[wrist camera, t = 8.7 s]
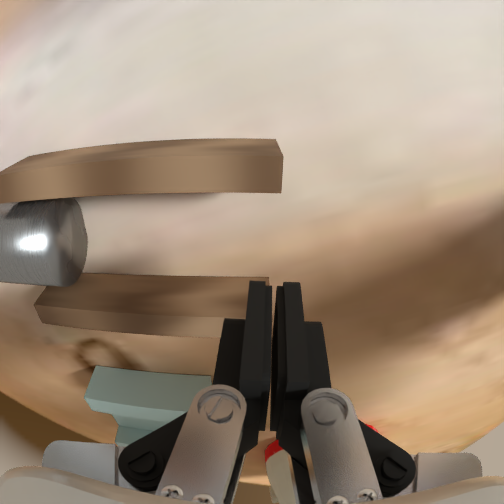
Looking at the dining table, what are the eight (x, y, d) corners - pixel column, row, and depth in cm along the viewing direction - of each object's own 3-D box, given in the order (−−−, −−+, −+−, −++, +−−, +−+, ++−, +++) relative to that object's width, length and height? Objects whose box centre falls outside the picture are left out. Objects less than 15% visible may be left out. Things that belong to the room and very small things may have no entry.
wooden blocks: (275, 139, 15) (283, 156, 12) (267, 297, 19) (270, 338, 16) (29, 156, 14) (-8, 176, 11) (63, 289, 19) (42, 323, 16)
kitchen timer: (292, 473, 37) (299, 563, 24) (243, 444, 31) (243, 565, 18) (385, 445, 34) (407, 539, 21) (364, 408, 27) (394, 543, 14)
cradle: (210, 375, 24) (207, 412, 21) (218, 431, 29) (217, 460, 26) (96, 365, 23) (83, 397, 20) (127, 422, 29) (120, 449, 26)
